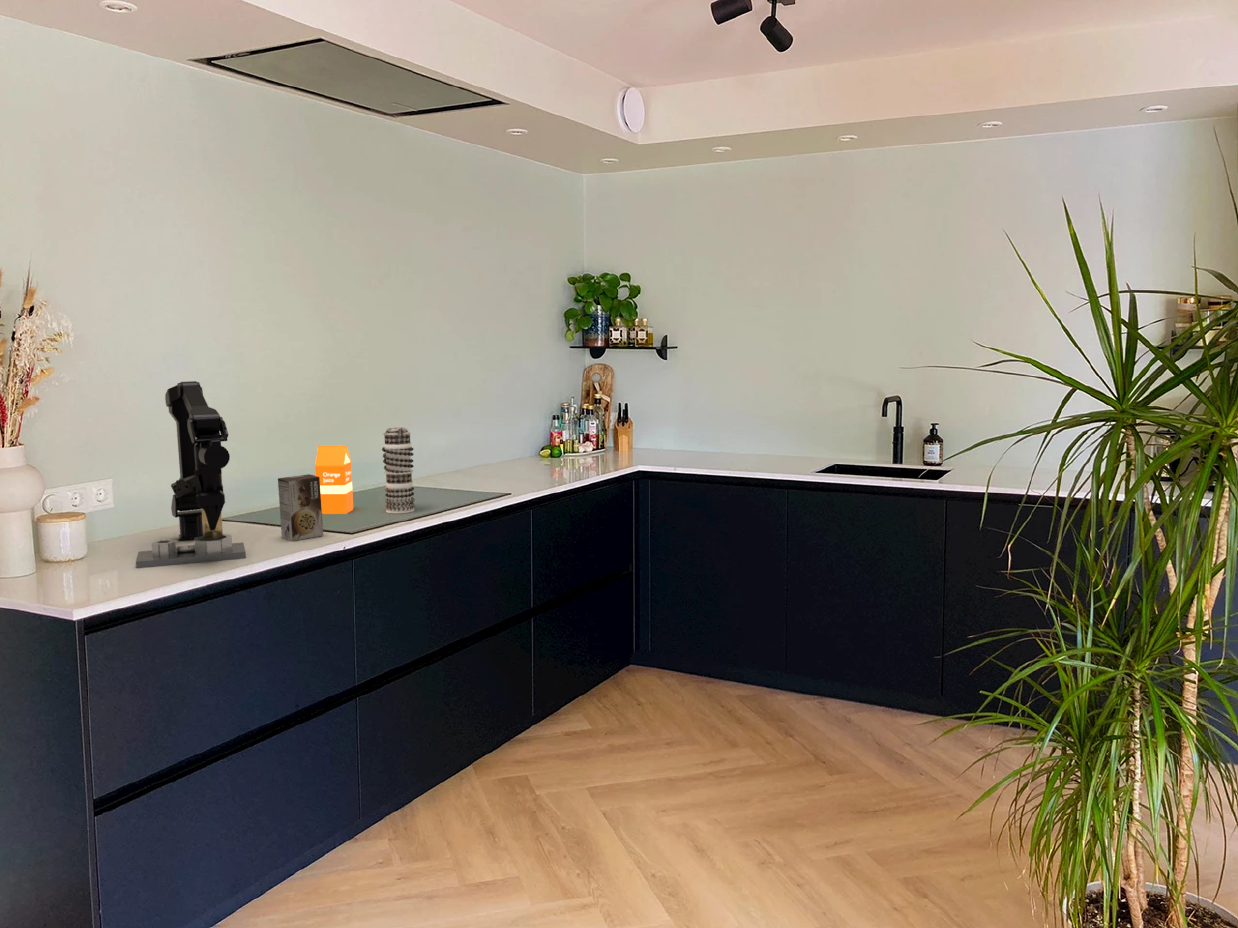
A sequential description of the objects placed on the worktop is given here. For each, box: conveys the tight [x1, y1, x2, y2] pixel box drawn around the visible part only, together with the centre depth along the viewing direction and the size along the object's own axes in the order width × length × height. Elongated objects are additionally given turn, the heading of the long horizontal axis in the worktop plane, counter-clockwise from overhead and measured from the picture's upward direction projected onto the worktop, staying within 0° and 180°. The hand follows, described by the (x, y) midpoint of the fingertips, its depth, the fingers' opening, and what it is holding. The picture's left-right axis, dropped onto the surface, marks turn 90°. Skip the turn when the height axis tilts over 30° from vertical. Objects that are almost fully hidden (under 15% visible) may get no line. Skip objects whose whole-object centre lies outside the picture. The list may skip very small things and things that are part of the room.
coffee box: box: [277, 473, 324, 542], centre depth 269 cm, size 9×6×16 cm
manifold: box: [135, 533, 247, 569], centre depth 247 cm, size 12×24×4 cm, turn 113°
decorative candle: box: [381, 427, 416, 514], centre depth 305 cm, size 9×9×25 cm
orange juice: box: [314, 445, 354, 515], centre depth 306 cm, size 8×9×20 cm
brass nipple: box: [201, 509, 224, 538], centre depth 248 cm, size 4×4×8 cm
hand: (212, 528), depth 248 cm, fingers closed on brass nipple, 4 cm apart
